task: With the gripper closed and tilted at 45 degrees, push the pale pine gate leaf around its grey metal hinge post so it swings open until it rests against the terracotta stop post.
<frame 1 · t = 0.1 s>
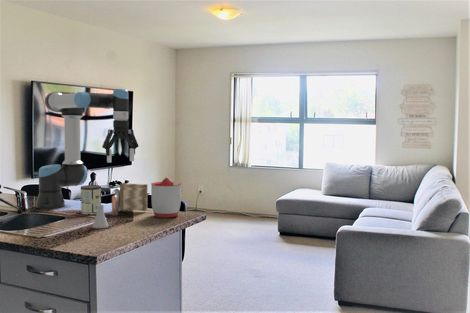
hand: (120, 161, 234), 28 cm above the counter, tool pointing down, fingers open, 13 cm apart
coffee can: (91, 213, 243), on the counter
gate leaf: (133, 197, 247), point 8 cm above the counter, hinge at 0.0°
flask: (100, 227, 210), on the counter
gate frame: (117, 210, 249), on the counter
citrus juicer: (167, 216, 238), on the counter
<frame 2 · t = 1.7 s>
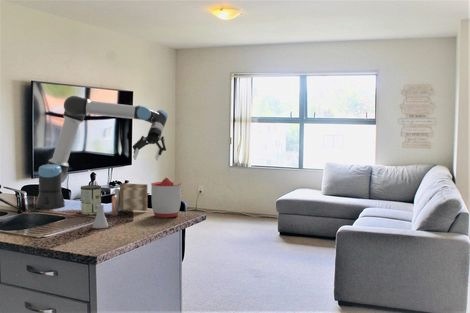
hand: (145, 158, 259), 28 cm above the counter, tool tilted 45°, fingers open, 13 cm apart
nothing on the counter moved.
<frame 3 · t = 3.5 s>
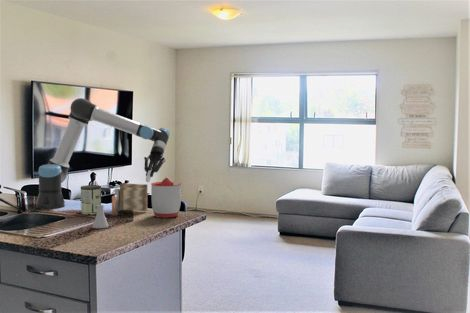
hand: (147, 180, 259), 15 cm above the counter, tool tilted 45°, fingers closed
nothing on the counter moved.
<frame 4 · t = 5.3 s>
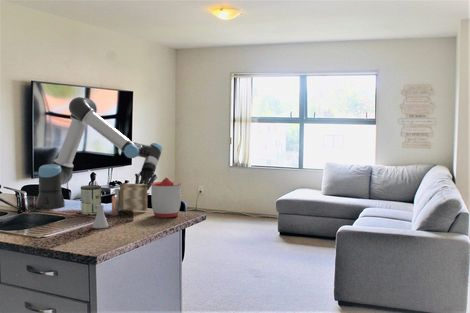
hand: (137, 199, 248), 7 cm above the counter, tool tilted 45°, fingers closed
gate leaf: (133, 197, 247), point 8 cm above the counter, hinge at -0.5°, touching gripper
everything else where it was.
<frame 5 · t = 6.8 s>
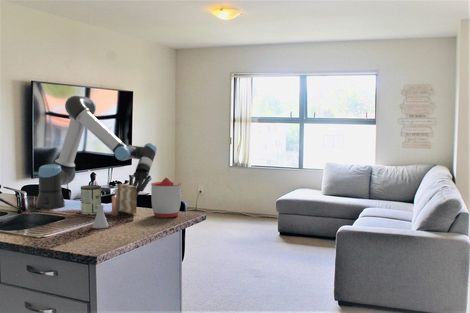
hand: (131, 201, 243), 6 cm above the counter, tool tilted 45°, fingers closed
gate leaf: (126, 198, 242), point 8 cm above the counter, hinge at -33.1°, touching gripper
everything else where it was.
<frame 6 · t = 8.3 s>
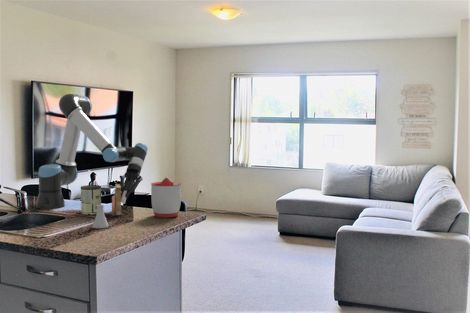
hand: (122, 202, 240), 6 cm above the counter, tool tilted 45°, fingers closed
gate leaf: (118, 198, 240), point 8 cm above the counter, hinge at -61.6°, touching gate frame, hand
everything else where it was.
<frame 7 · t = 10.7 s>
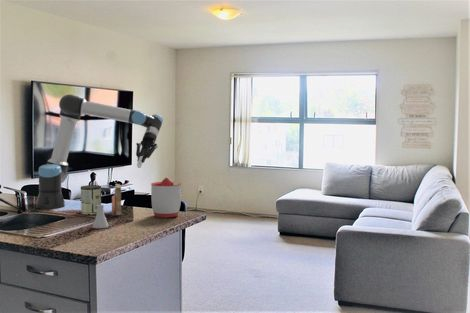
hand: (138, 166, 257), 24 cm above the counter, tool tilted 45°, fingers closed
gate leaf: (118, 198, 240), point 8 cm above the counter, hinge at -61.6°, touching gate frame
everything else where it was.
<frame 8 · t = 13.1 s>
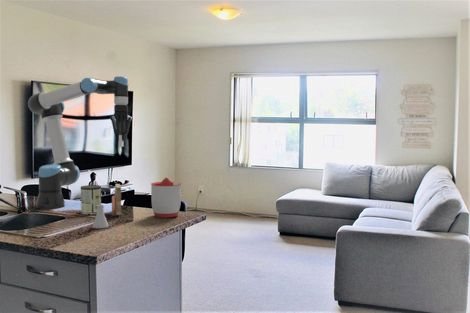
hand: (121, 146, 258), 34 cm above the counter, tool pointing down, fingers closed
nothing on the counter moved.
at the end: gate leaf at -62° (first picture: +0°) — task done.
